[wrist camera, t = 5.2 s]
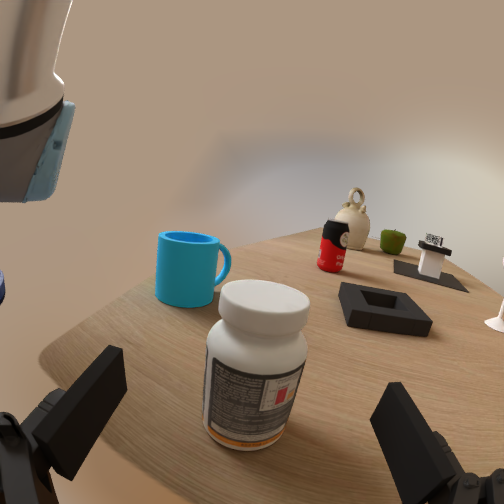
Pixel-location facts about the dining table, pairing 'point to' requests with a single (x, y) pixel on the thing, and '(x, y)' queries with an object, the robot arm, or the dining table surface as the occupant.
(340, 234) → the beverage can
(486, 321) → the champagne flute
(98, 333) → the dining table surface
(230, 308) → the pill bottle
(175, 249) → the mug
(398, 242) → the apple
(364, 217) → the jug
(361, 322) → the dock pad
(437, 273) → the black-topped pedestal
